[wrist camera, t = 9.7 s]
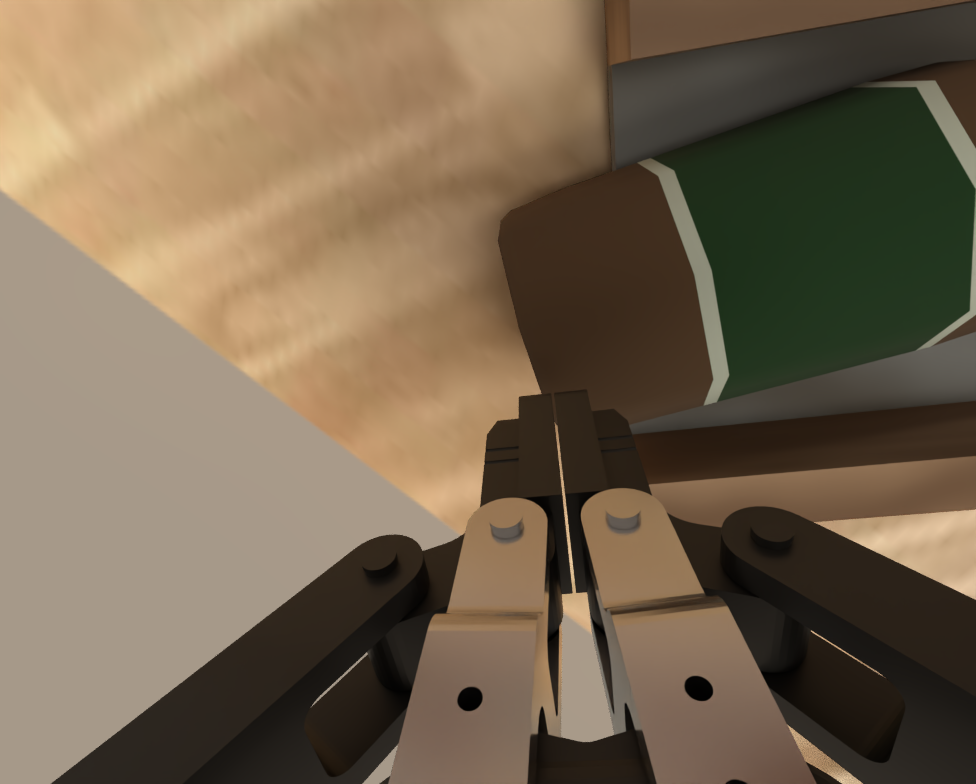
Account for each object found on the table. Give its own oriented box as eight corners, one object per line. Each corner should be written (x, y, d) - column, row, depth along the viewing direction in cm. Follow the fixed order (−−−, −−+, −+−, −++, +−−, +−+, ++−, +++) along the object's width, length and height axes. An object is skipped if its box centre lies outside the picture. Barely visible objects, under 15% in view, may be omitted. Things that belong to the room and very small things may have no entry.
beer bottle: (509, 329, 13) (2087, -154, 8) (483, 162, 18) (1447, -198, 13) (578, 487, 19) (1524, 259, 14) (544, 327, 24) (1229, 119, 19)
